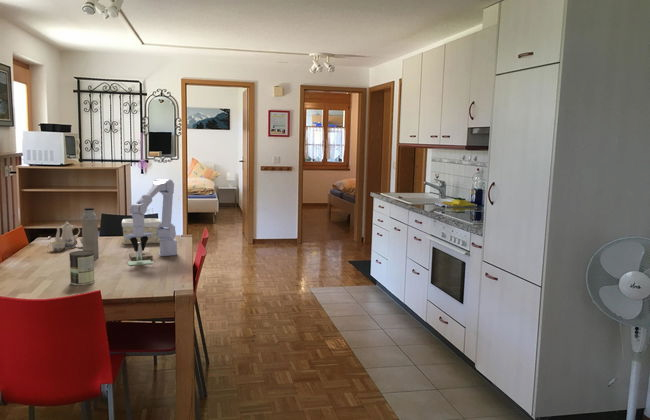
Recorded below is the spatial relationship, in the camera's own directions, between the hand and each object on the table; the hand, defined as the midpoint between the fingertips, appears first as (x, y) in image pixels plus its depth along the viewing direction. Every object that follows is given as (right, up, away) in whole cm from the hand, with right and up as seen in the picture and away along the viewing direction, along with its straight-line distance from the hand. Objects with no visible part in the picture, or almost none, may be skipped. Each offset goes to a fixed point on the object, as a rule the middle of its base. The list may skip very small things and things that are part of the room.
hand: (139, 250), depth 286 cm
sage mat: (0, -7, +1) cm, 7 cm away
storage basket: (-19, +1, +60) cm, 63 cm away
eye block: (-3, -5, +11) cm, 13 cm away
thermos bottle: (-31, -5, +11) cm, 33 cm away
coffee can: (-12, -12, -39) cm, 43 cm away
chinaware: (-55, -1, +37) cm, 66 cm away
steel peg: (0, -5, +1) cm, 5 cm away
